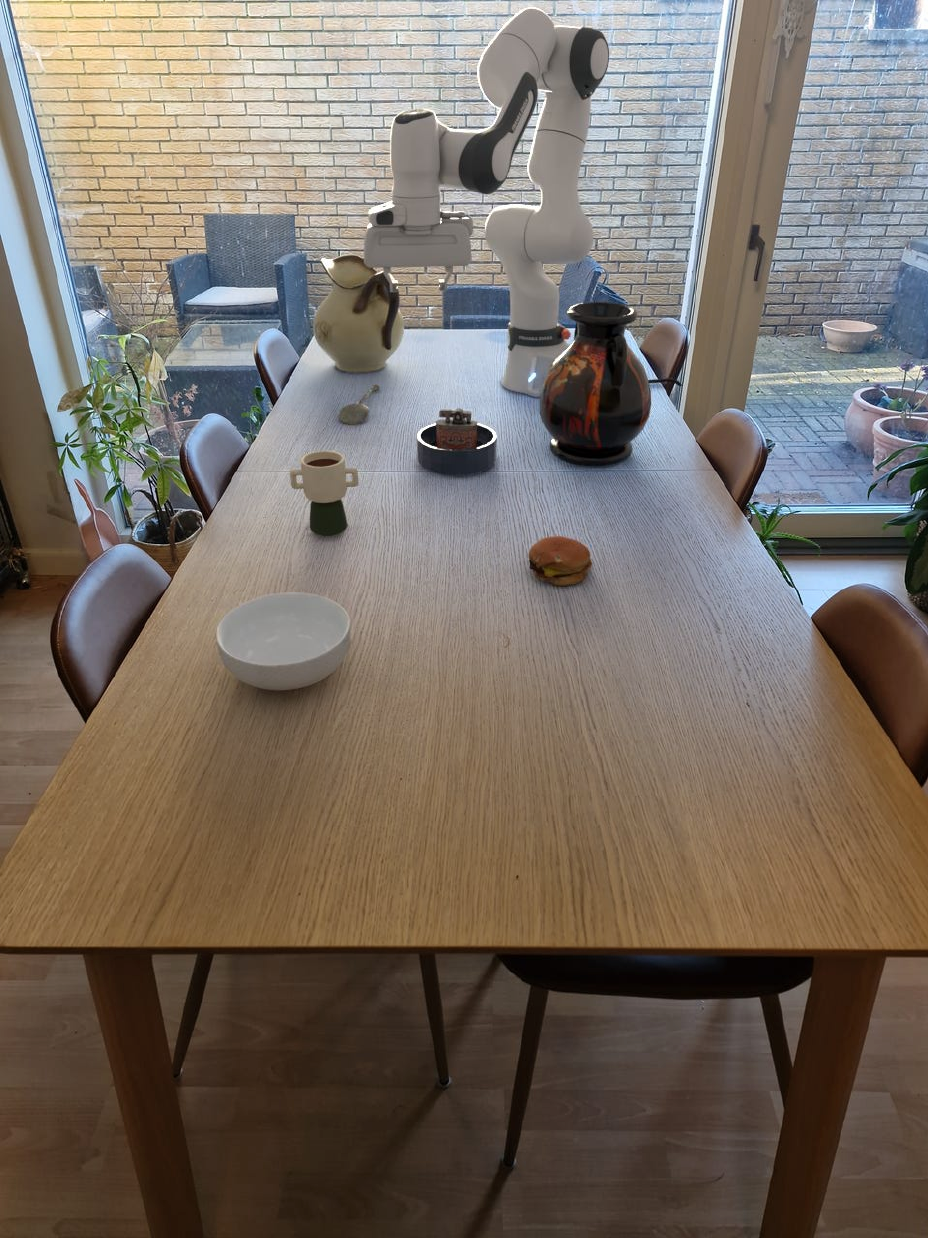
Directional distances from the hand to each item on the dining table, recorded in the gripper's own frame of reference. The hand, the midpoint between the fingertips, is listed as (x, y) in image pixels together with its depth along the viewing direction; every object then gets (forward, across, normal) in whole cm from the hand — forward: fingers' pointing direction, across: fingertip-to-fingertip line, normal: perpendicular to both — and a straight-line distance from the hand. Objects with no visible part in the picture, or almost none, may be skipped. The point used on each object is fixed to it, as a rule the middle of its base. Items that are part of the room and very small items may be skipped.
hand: (418, 290), depth 169 cm
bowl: (+29, -6, +15) cm, 33 cm away
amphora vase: (+29, -33, +13) cm, 46 cm away
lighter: (+29, -6, +15) cm, 33 cm away
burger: (+29, -18, +59) cm, 68 cm away
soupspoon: (+29, +12, -18) cm, 36 cm away
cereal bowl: (+29, +22, +81) cm, 89 cm away
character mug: (+29, +18, +42) cm, 54 cm away
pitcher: (+29, +12, -48) cm, 58 cm away
